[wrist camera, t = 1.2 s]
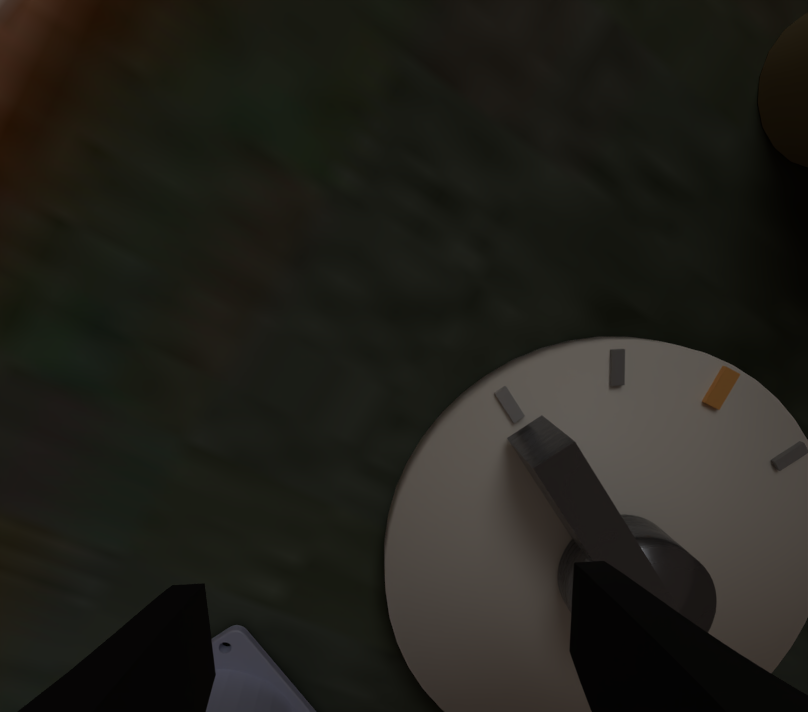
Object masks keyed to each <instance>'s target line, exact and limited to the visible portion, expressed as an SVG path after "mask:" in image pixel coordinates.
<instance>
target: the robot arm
mask: <svg viewBox="0 0 808 712" xmlns="http://www.w3.org/2000/svg"><path fill="white" fill-rule="evenodd" d="M223 642H227V643H229V644H230V645H231V646H225V645H223V644H222V643H223ZM569 652H570V654H571V657H572V660H573V663H574V666H575V669H576V671H577V674H578V677H579V680H580V683H581V685H582V688H583V691H584V693H585V696H586V699H587V701H588V704H589V707H590V709H591V711H592V712H808V695H806V694H804V693H803V692H801V691H799V690H797V689H796V688H794V687H792V686H791V685H789V684H787V683H786V682H784V681H782V680H781V679H779V678H777V677H776V676H774V675H773V674H771V673H769V672H768V671H766V670H765V669H763V668H761V667H760V666H758V665H757V664H755V663H754V662H752V661H750V660H749V659H747V658H746V657H744V656H742V655H741V654H739V653H738V652H736V651H735V650H733V649H731V648H730V647H728V646H727V645H725V644H724V643H722V642H721V641H719V640H718V639H716V638H715V637H713V636H712V635H710V634H709V633H707V632H706V631H704V630H703V629H702V628H700V627H699V626H697V625H696V624H694V623H693V622H691V621H690V620H688V619H687V618H686V617H684V616H683V615H681V614H680V613H678V612H677V611H676V610H674V609H673V608H671V607H670V606H668V605H667V604H666V603H664V602H663V601H661V600H660V599H659V598H657V597H656V596H654V595H653V594H651V593H650V592H649V591H647V590H646V589H644V588H643V587H642V586H640V585H639V584H637V583H636V582H635V581H633V580H632V579H630V578H629V577H628V576H626V575H625V574H623V573H622V572H620V571H619V570H617V569H616V568H614V567H613V566H611V565H610V564H608V563H607V562H605V561H593V562H575V563H574V570H573V590H572V610H571V629H570V649H569ZM18 712H316V711H315V710H314V708H313V707H312V706H311V705H310V704H309V702H308V701H307V700H306V699H305V698H304V697H303V695H302V694H301V693H300V692H299V691H298V689H297V688H296V687H295V686H294V685H293V684H292V682H291V681H290V680H289V679H288V678H287V676H286V675H285V674H284V673H283V672H282V671H281V669H280V668H279V667H278V666H277V665H276V663H275V662H274V661H273V660H272V659H271V657H270V656H269V655H268V654H267V653H266V652H265V650H264V649H263V648H262V647H261V646H260V644H259V643H258V642H257V641H256V640H255V639H254V637H253V636H252V635H251V634H250V633H249V631H248V630H247V629H246V628H244V627H243V626H240V625H234V626H231V627H229V628H228V629H226V630H225V631H223V632H221V633H220V634H218V635H217V636H215V637H214V638H212V639H211V632H210V624H209V616H208V608H207V600H206V592H205V584H188V585H172V586H171V587H170V588H168V589H167V590H166V591H164V592H163V593H162V594H161V595H159V596H158V597H157V598H156V599H155V600H153V601H152V602H151V603H150V604H149V605H147V606H146V607H145V608H144V609H143V610H141V611H140V612H139V613H138V614H137V615H136V616H134V617H133V618H132V619H131V620H130V621H129V622H127V623H126V624H125V625H124V626H123V627H122V628H120V629H119V630H118V631H117V632H116V633H115V634H113V635H112V636H111V637H110V638H109V639H107V640H106V641H105V642H104V643H103V644H101V645H100V646H99V647H98V648H97V649H95V650H94V651H93V652H92V653H91V654H89V655H88V656H87V657H86V658H85V659H83V660H82V661H81V662H80V663H79V664H77V665H76V666H75V667H74V668H73V669H71V670H70V671H69V672H68V673H66V674H65V675H64V676H63V677H61V678H60V679H59V680H58V681H56V682H55V683H54V684H52V685H51V686H50V687H49V688H47V689H46V690H45V691H44V692H42V693H41V694H40V695H38V696H37V697H36V698H35V699H33V700H32V701H31V702H29V703H28V704H27V705H26V706H24V707H23V708H22V709H21V710H19V711H18Z"/></svg>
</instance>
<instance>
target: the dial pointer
mask: <svg viewBox="0 0 808 712" xmlns="http://www.w3.org/2000/svg"><path fill="white" fill-rule="evenodd" d="M507 439H508V441H509V442H510V444H511V445H512V447H513V448H514V450H515V451H516V453H517V454H518V456H519V458H520V459H521V461H522V462H523V464H524V465H525V467H526V468H527V470H528V471H529V473H530V474H531V476H532V478H533V479H534V481H535V482H536V484H537V485H538V487H539V488H540V490H541V491H542V493H543V494H544V496H545V498H546V499H547V501H548V502H549V504H550V505H551V507H552V508H553V510H554V511H555V513H556V514H557V516H558V518H559V519H560V521H561V522H562V524H563V525H564V527H565V528H566V530H567V531H568V533H569V534H570V536H571V538H572V540H571V541H570V542H569V544H568V545H567V547H566V548H565V550H564V552H563V554H562V556H561V559H560V562H559V567H558V575H557V579H558V587H559V592H560V594H561V597H562V599H563V601H564V602H565V604H566V606H567V607H568V609H569V611H570V612H571V610H572V590H573V570H574V563H575V562H593V561H605V562H607V563H608V564H610V565H611V566H613V567H614V568H616V569H617V570H619V571H620V572H622V573H623V574H625V575H626V576H628V577H629V578H630V579H632V580H633V581H635V582H636V583H637V584H639V585H640V586H642V587H643V588H644V589H646V590H647V591H649V592H650V593H651V594H653V595H654V596H656V597H657V598H659V599H660V600H661V601H663V602H664V603H666V604H667V605H668V606H670V607H671V608H673V609H674V610H676V611H677V612H678V613H680V614H681V615H683V616H684V617H686V618H687V619H688V620H690V621H691V622H693V623H694V624H696V625H697V626H699V627H700V628H702V629H703V630H704V631H706V632H707V633H708V632H709V630H710V628H711V625H712V623H713V620H714V616H715V613H716V605H717V598H716V590H715V586H714V583H713V580H712V578H711V576H710V574H709V573H708V571H707V570H706V568H705V567H704V566H703V565H702V564H701V563H700V562H699V561H698V560H697V559H696V558H694V557H693V556H692V555H691V554H690V553H689V552H687V551H686V550H685V549H684V548H683V547H682V546H680V545H679V544H678V543H677V542H676V541H675V540H673V539H672V538H671V537H670V536H669V535H668V534H667V533H665V532H664V531H663V530H662V529H661V528H660V527H658V526H657V525H656V524H654V523H653V522H651V521H649V520H647V519H645V518H642V517H639V516H634V515H626V514H624V515H620V513H619V512H618V510H617V508H616V507H615V505H614V504H613V502H612V500H611V499H610V497H609V495H608V494H607V492H606V491H605V489H604V487H603V486H602V484H601V483H600V481H599V479H598V478H597V476H596V474H595V473H594V471H593V470H592V468H591V466H590V465H589V463H588V462H587V460H586V458H585V457H584V455H583V454H582V452H581V450H580V449H579V447H578V445H577V444H576V442H575V441H574V440H573V439H571V438H570V437H569V436H567V435H566V434H565V433H564V432H562V431H561V430H560V429H559V428H557V427H556V426H555V425H554V424H552V423H551V422H550V421H549V420H547V419H546V418H545V417H544V416H542V415H541V416H540V417H538V418H537V419H535V420H534V421H532V422H531V423H529V424H528V425H526V426H525V427H523V428H522V429H520V430H519V431H517V432H515V433H514V434H512V435H511V436H509V437H508V438H507Z"/></svg>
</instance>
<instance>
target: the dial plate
mask: <svg viewBox="0 0 808 712" xmlns="http://www.w3.org/2000/svg"><path fill="white" fill-rule="evenodd" d="M541 415H542V416H544V417H545V418H546V419H547V420H549V421H550V422H551V423H552V424H554V425H555V426H556V427H557V428H559V429H560V430H561V431H562V432H564V433H565V434H566V435H567V436H569V437H570V438H571V439H573V440H574V441H575V442H576V444H577V445H578V447H579V449H580V450H581V452H582V454H583V455H584V457H585V458H586V460H587V462H588V463H589V465H590V466H591V468H592V470H593V471H594V473H595V474H596V476H597V478H598V479H599V481H600V483H601V484H602V486H603V487H604V489H605V491H606V492H607V494H608V495H609V497H610V499H611V500H612V502H613V504H614V505H615V507H616V508H617V510H618V512H619V513H620V515H624V514H626V515H634V516H639V517H642V518H645V519H647V520H649V521H651V522H653V523H654V524H656V525H657V526H658V527H660V528H661V529H662V530H663V531H664V532H665V533H667V534H668V535H669V536H670V537H671V538H672V539H673V540H675V541H676V542H677V543H678V544H679V545H680V546H682V547H683V548H684V549H685V550H686V551H687V552H689V553H690V554H691V555H692V556H693V557H694V558H696V559H697V560H698V561H699V562H700V563H701V564H702V565H703V566H704V567H705V568H706V570H707V571H708V573H709V574H710V576H711V578H712V580H713V583H714V586H715V590H716V598H717V605H716V613H715V616H714V620H713V623H712V625H711V628H710V630H709V632H708V633H709V634H710V635H712V636H713V637H715V638H716V639H718V640H719V641H721V642H722V643H724V644H725V645H727V646H728V647H730V648H731V649H733V650H735V651H736V652H738V653H739V654H741V655H742V656H744V657H746V658H747V659H749V660H750V661H752V662H754V663H755V664H757V665H758V666H760V667H761V668H763V669H765V670H766V671H768V672H769V673H772V672H773V670H774V669H775V668H776V667H777V665H778V664H779V663H780V661H781V660H782V659H783V657H784V656H785V655H786V653H787V652H788V651H789V649H790V648H791V646H792V645H793V643H794V641H795V640H796V638H797V636H798V634H799V633H800V631H801V629H802V627H803V626H804V624H805V622H806V620H807V617H808V440H807V439H806V437H805V435H804V434H803V432H802V430H801V429H800V427H799V426H798V424H797V422H796V421H795V419H794V418H793V417H792V415H791V414H790V413H789V412H788V411H787V410H786V408H785V407H784V406H783V405H782V404H781V402H780V401H779V400H778V399H777V398H776V397H775V396H774V395H773V394H772V393H770V392H769V391H768V390H767V389H766V388H765V387H764V386H762V385H761V384H760V383H759V382H758V381H757V380H755V379H754V378H752V377H751V376H749V375H747V374H746V373H744V372H743V371H741V370H740V369H738V368H736V367H735V366H733V365H731V364H729V363H727V362H725V361H722V360H720V359H718V358H716V357H713V356H711V355H709V354H707V353H704V352H700V351H696V350H693V349H689V348H686V347H682V346H679V345H674V344H670V343H665V342H661V341H656V340H650V339H642V338H635V337H627V336H609V337H591V338H584V339H576V340H569V341H565V342H562V343H558V344H554V345H551V346H547V347H543V348H540V349H537V350H535V351H532V352H530V353H528V354H525V355H523V356H520V357H518V358H516V359H513V360H511V361H509V362H508V363H506V364H504V365H502V366H501V367H499V368H497V369H495V370H494V371H492V372H490V373H489V374H487V375H485V376H484V377H483V378H481V379H480V380H479V381H477V382H476V383H475V384H473V385H472V386H471V387H469V388H468V389H467V390H465V391H464V392H463V393H461V394H460V395H459V396H458V397H457V398H456V399H455V400H454V401H453V402H452V403H451V404H450V405H449V406H448V407H447V408H446V409H445V410H444V411H443V412H442V413H441V414H440V415H439V416H438V418H437V419H436V420H435V421H434V423H433V424H432V425H431V426H430V428H429V429H428V430H427V431H426V433H425V434H424V435H423V437H422V438H421V440H420V441H419V443H418V445H417V446H416V448H415V450H414V451H413V453H412V455H411V456H410V458H409V460H408V461H407V463H406V465H405V468H404V470H403V472H402V475H401V477H400V479H399V481H398V484H397V486H396V488H395V492H394V495H393V499H392V502H391V506H390V510H389V513H388V518H387V525H386V533H385V540H384V573H385V590H386V597H387V604H388V611H389V618H390V621H391V624H392V627H393V631H394V634H395V637H396V641H397V644H398V646H399V648H400V650H401V652H402V654H403V656H404V659H405V661H406V663H407V665H408V667H409V669H410V670H411V672H412V673H413V675H414V676H415V678H416V679H417V681H418V682H419V684H420V685H421V687H422V688H423V689H424V691H425V692H426V693H427V694H428V695H429V696H430V697H431V698H432V699H433V700H434V702H435V703H436V704H437V705H438V706H439V707H440V708H441V709H442V710H443V711H444V712H592V711H591V709H590V707H589V704H588V701H587V699H586V696H585V693H584V691H583V688H582V685H581V683H580V680H579V677H578V674H577V671H576V669H575V666H574V663H573V660H572V657H571V654H570V652H569V649H570V629H571V612H570V611H569V609H568V607H567V606H566V604H565V602H564V601H563V599H562V597H561V594H560V592H559V587H558V579H557V575H558V567H559V562H560V559H561V556H562V554H563V552H564V550H565V548H566V547H567V545H568V544H569V542H570V541H571V540H572V538H571V536H570V534H569V533H568V531H567V530H566V528H565V527H564V525H563V524H562V522H561V521H560V519H559V518H558V516H557V514H556V513H555V511H554V510H553V508H552V507H551V505H550V504H549V502H548V501H547V499H546V498H545V496H544V494H543V493H542V491H541V490H540V488H539V487H538V485H537V484H536V482H535V481H534V479H533V478H532V476H531V474H530V473H529V471H528V470H527V468H526V467H525V465H524V464H523V462H522V461H521V459H520V458H519V456H518V454H517V453H516V451H515V450H514V448H513V447H512V445H511V444H510V442H509V441H508V439H507V438H508V437H509V436H511V435H512V434H514V433H515V432H517V431H519V430H520V429H522V428H523V427H525V426H526V425H528V424H529V423H531V422H532V421H534V420H535V419H537V418H538V417H540V416H541Z"/></svg>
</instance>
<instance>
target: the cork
mask: <svg viewBox="0 0 808 712" xmlns="http://www.w3.org/2000/svg"><path fill="white" fill-rule="evenodd" d="M758 107H759V112H760V117H761V122H762V127H763V129H764V130H765V132H766V134H767V136H768V138H769V139H770V141H771V143H772V145H773V146H774V148H775V149H777V150H778V151H779V152H780V153H781V154H782V155H784V156H785V157H786V158H787V159H788V160H789V161H791V162H793V163H796V164H799V165H802V166H804V167H807V168H808V13H806V14H804V15H803V16H802V17H800V18H799V19H798V20H796V21H795V22H794V23H793V24H791V25H790V26H789V27H788V28H786V29H785V30H784V31H783V33H782V34H781V35H780V37H779V38H778V40H777V41H776V42H775V44H774V45H773V47H772V48H771V49H770V51H769V53H768V55H767V58H766V61H765V64H764V66H763V69H762V72H761V75H760V79H759V92H758Z"/></svg>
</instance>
